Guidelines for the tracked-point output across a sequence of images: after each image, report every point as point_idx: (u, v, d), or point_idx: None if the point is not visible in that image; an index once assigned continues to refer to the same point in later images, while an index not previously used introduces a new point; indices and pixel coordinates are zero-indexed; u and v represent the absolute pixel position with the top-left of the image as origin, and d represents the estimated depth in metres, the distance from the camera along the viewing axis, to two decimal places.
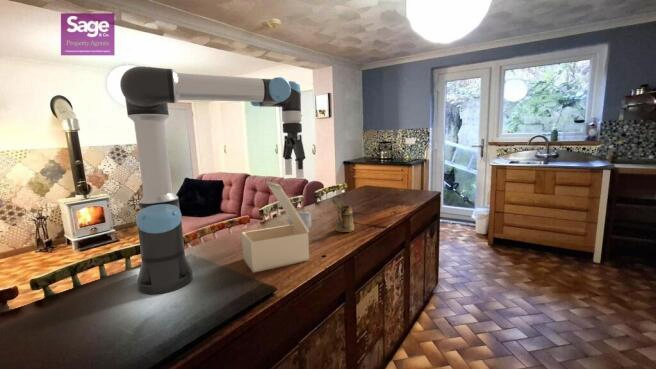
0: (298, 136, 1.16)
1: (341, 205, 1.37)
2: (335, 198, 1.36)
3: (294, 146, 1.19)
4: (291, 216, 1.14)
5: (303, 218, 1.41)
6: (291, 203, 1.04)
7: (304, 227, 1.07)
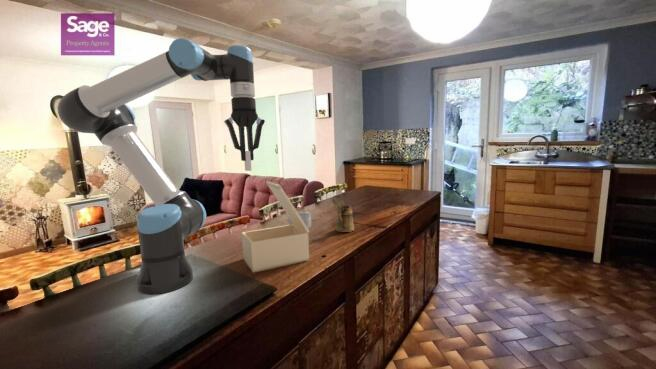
0: (225, 123, 0.98)
1: (341, 205, 1.37)
2: (335, 198, 1.36)
3: (239, 131, 1.01)
4: (291, 216, 1.14)
5: (303, 218, 1.41)
6: (291, 203, 1.04)
7: (304, 227, 1.07)
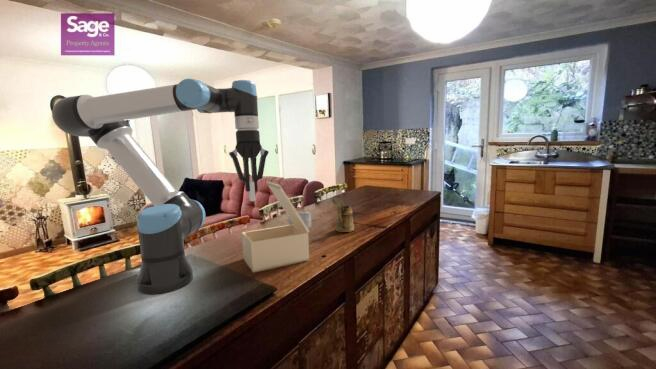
0: (230, 155, 1.00)
1: (341, 205, 1.37)
2: (335, 198, 1.36)
3: (243, 162, 1.03)
4: (291, 216, 1.14)
5: (303, 218, 1.41)
6: (291, 203, 1.04)
7: (304, 227, 1.07)
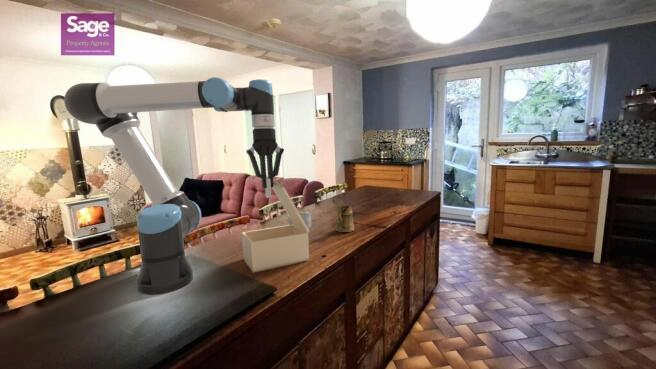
0: (247, 153, 1.02)
1: (341, 205, 1.37)
2: (335, 198, 1.36)
3: (260, 160, 1.05)
4: (291, 216, 1.14)
5: (303, 218, 1.41)
6: (292, 202, 1.04)
7: (304, 227, 1.07)
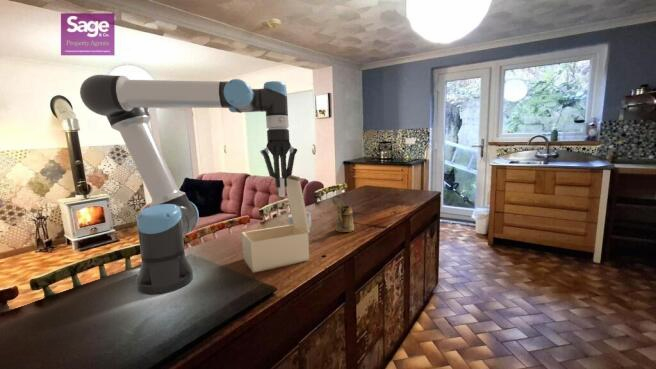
0: (262, 153, 1.04)
1: (341, 205, 1.37)
2: (335, 198, 1.36)
3: None
4: (295, 214, 1.15)
5: None
6: None
7: (306, 226, 1.08)
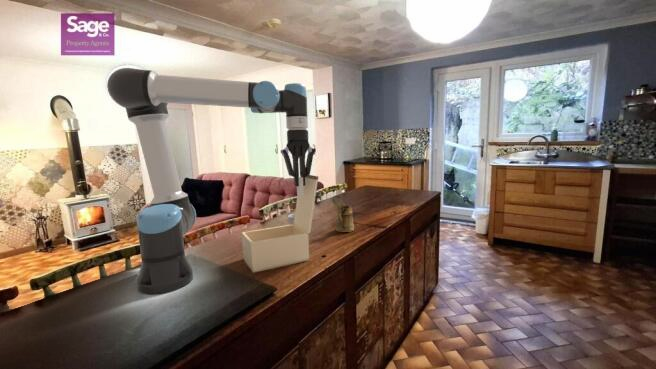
0: (282, 152, 1.08)
1: (341, 205, 1.37)
2: (335, 198, 1.36)
3: (293, 159, 1.11)
4: (300, 213, 1.16)
5: None
6: (314, 197, 1.08)
7: (308, 226, 1.08)
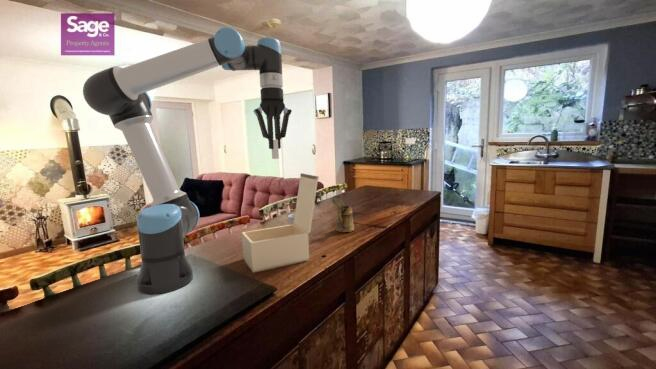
0: (255, 112, 1.02)
1: (341, 205, 1.37)
2: (335, 198, 1.36)
3: (267, 120, 1.05)
4: (300, 213, 1.16)
5: None
6: (314, 197, 1.08)
7: (308, 226, 1.08)
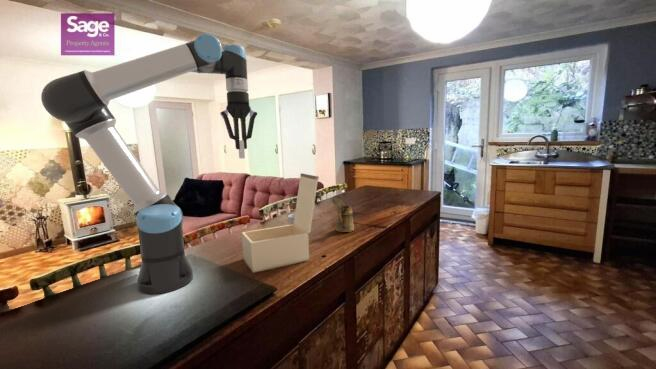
0: (221, 114, 1.08)
1: (341, 205, 1.37)
2: (335, 198, 1.36)
3: None
4: (300, 213, 1.16)
5: None
6: (314, 197, 1.08)
7: (308, 226, 1.08)
